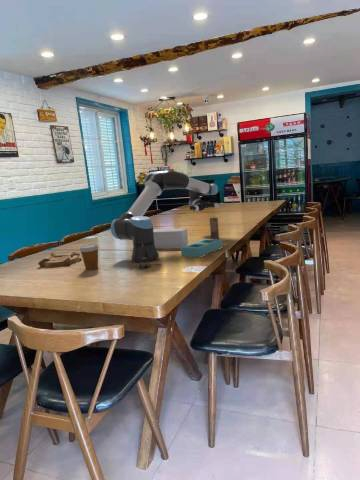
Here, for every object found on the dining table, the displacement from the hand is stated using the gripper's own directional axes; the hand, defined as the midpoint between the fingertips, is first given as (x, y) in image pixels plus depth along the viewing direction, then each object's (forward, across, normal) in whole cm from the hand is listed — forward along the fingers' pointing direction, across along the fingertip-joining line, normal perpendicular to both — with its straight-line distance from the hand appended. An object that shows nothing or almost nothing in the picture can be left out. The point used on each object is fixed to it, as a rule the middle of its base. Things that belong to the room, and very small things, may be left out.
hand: (208, 207), depth 223 cm
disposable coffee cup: (+31, +75, -22) cm, 84 cm away
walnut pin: (+10, 0, -22) cm, 24 cm away
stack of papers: (-3, +32, -22) cm, 39 cm away
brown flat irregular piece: (+6, +94, -22) cm, 96 cm away
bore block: (+28, +14, -22) cm, 38 cm away
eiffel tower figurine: (+44, +49, -22) cm, 69 cm away
